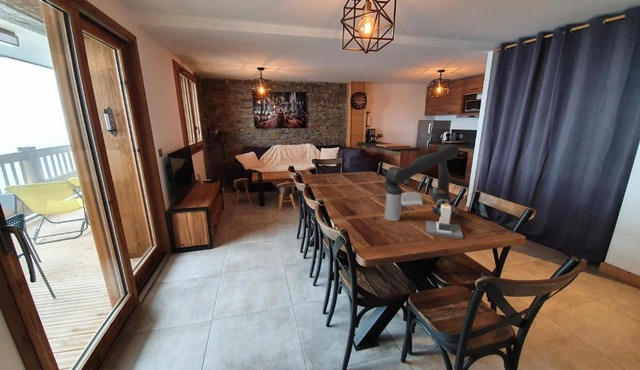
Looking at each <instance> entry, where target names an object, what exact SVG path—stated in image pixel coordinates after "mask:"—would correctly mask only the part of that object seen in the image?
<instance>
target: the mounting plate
mask: <svg viewBox="0 0 640 370" xmlns="http://www.w3.org/2000/svg"><path fill="white" fill-rule="evenodd" d="M449 224H450V226H451V227H450V231H446V230H439V228H438V227H439V221H433V220H432V221H431V220H426V221H425V234H427V235H433V236H434V235H435V236H441V237H447V238H454V239H462V240H463V239H464V235H463V232H462V228H461V225H460V224H454V223H449Z"/></svg>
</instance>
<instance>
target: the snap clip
mask: <svg viewBox="0 0 640 370" xmlns="http://www.w3.org/2000/svg"><path fill="white" fill-rule="evenodd" d="M450 224H451V223H449V224H444V223H439V227H438V228H439V230H446V231H450V227H451V226H450Z"/></svg>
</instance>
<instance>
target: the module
mask: <svg viewBox="0 0 640 370" xmlns="http://www.w3.org/2000/svg"><path fill="white" fill-rule="evenodd" d="M451 209H452V205H451V204H450V205H448V204H447V203H445V205H443V204H441V217H439V220H438V222H439V223H444V224H450V221H451V218H450V214H451Z"/></svg>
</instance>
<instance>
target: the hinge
mask: <svg viewBox="0 0 640 370" xmlns="http://www.w3.org/2000/svg"><path fill="white" fill-rule="evenodd" d="M420 205H421V206H422V205H424V203H423V201H422V196H421V193H419V192H414V191H410V192H404V193H403V192H402V199H401V206H404V207H407V206H420Z"/></svg>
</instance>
